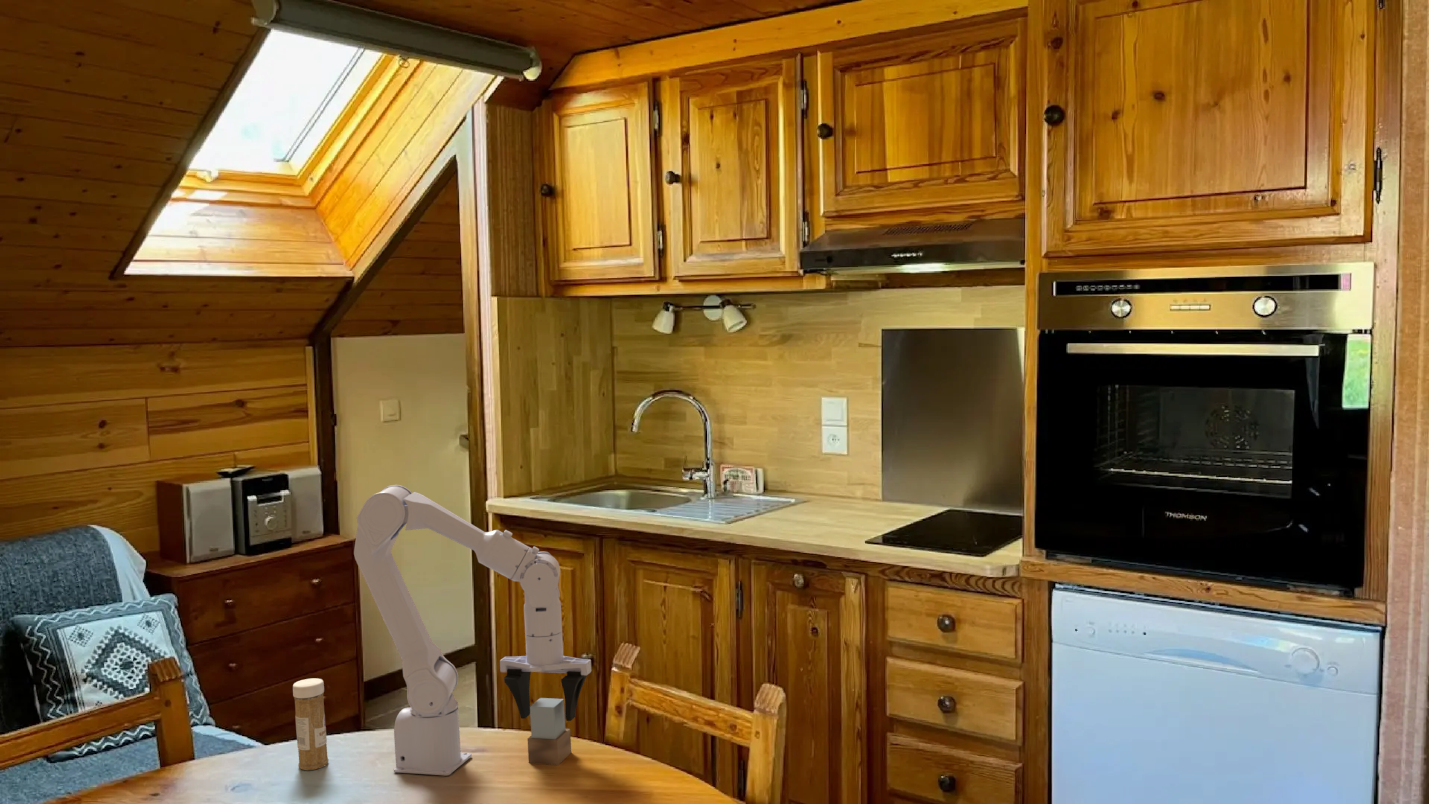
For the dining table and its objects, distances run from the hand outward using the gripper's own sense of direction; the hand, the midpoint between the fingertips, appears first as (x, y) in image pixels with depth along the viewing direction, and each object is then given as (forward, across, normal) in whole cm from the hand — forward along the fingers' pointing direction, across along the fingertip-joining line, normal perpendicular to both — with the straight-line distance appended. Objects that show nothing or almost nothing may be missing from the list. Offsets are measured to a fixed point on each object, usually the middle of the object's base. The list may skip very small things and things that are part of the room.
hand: (548, 717), depth 170 cm
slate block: (+3, 0, 0) cm, 3 cm away
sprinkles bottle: (+7, -36, -8) cm, 38 cm away
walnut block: (+7, 0, 0) cm, 7 cm away
